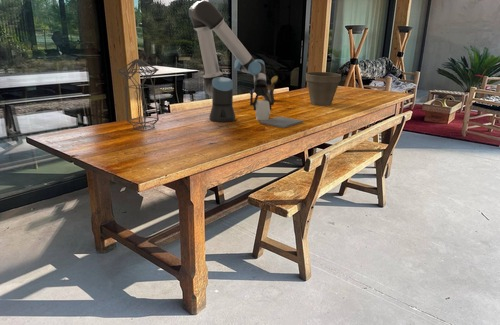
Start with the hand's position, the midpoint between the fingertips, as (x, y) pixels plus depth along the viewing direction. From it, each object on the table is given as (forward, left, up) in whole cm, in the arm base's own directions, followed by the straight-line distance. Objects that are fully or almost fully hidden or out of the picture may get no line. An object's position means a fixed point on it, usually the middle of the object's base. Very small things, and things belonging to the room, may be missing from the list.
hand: (263, 114), depth 226 cm
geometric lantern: (-59, +34, -4) cm, 68 cm away
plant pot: (+74, +3, -4) cm, 74 cm away
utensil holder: (+61, +39, -4) cm, 72 cm away
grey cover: (+3, +3, -3) cm, 5 cm away
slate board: (+3, -11, -3) cm, 12 cm away
